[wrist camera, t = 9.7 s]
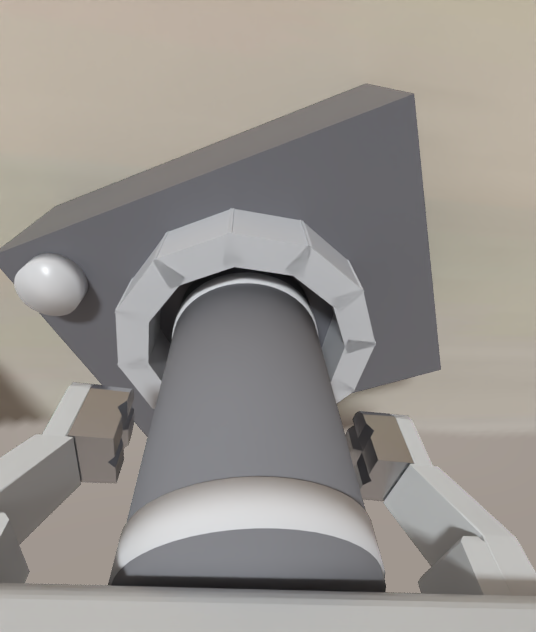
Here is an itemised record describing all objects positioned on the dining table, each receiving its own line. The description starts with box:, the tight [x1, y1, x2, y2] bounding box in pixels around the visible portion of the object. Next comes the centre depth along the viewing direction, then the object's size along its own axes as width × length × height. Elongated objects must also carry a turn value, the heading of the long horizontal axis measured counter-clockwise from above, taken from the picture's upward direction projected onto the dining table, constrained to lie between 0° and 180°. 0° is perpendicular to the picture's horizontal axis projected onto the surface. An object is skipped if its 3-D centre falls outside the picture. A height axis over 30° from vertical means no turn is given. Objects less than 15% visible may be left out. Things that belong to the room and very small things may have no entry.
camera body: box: [0, 84, 441, 437], centre depth 15 cm, size 14×11×7 cm
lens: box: [108, 267, 386, 592], centre depth 10 cm, size 5×5×9 cm
